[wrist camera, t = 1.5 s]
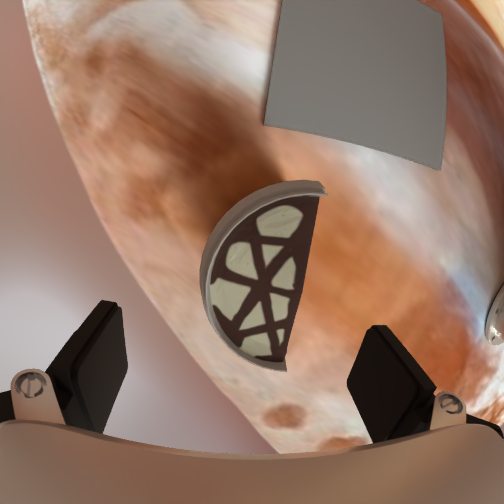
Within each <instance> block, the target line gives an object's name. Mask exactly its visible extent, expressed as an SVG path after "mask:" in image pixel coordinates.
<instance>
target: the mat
mask: <svg viewBox="0 0 504 504" xmlns="http://www.w3.org/2000/svg"><path fill="white" fill-rule="evenodd" d="M446 105H447V70H446V50H445V38H444V29H443V21H442V14H441V13H439V12H437V11H436V10H434V9H432V8H430V7H429V6H427V5H425V4H423V3H421V2H419V1H418V0H282V6H281V12H280V18H279V25H278V31H277V38H276V44H275V51H274V58H273V64H272V71H271V78H270V84H269V91H268V98H267V104H266V111H265V118H264V125H265V126H271V127H278V128H283V129H289V130H295V131H300V132H305V133H310V134H315V135H319V136H324V137H328V138H333V139H337V140H341V141H345V142H349V143H353V144H357V145H361V146H364V147H368V148H372V149H375V150H379V151H382V152H385V153H389V154H392V155H395V156H398V157H401V158H405V159H408V160H411V161H414V162H416V163H419V164H422V165H425V166H428V167H430V168H433V169H436V170H441V166H442V158H443V149H444V138H445V125H446Z"/></svg>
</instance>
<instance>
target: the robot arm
mask: <svg viewBox="0 0 504 504" xmlns="http://www.w3.org/2000/svg"><path fill="white" fill-rule="evenodd" d="M485 332H486V338H487V340H488V341H489V342H490V343H491V344H492V345H499V344H501V343H503V342H504V285H503V286H502V288H501V289H500V291H499V293H498V294H497V296H496V298H495V300H494V302H493V304H492V307H491V309H490V312H489V315H488V318H487V322H486V329H485ZM127 369H128V361H127V355H126V346H125V337H124V328H123V317H122V309H121V307H118V305H117V303H116V302H111V301H105V300H101V301H100V302H99V303H98V305H97V306H96V307H95V308H94V310H93V311H92V312H91V313H90V315H89V316H88V317H87V318H86V320H85V321H84V322H83V323H82V325H81V326H80V327H79V329H78V330H76V331H75V332H74V333H73V335H72V336H71V337H70V339H69V340H68V341H67V343H66V344H65V345H64V347H63V348H62V349H61V350H60V352H59V353H58V355H57V356H56V357H55V359H54V360H53V361H52V363H51V364H50V366H49V367H48V368H47V370H46V371H45V372H44V371H41V370H39V369H26V370H23V371H21V372H19V373H17V374H16V375H15V376H14V378H13V379H12V382H11V390H9V391H6V392H2V393H0V504H504V436H503V433H502V431H501V429H500V427H499V426H498V425H496V424H493V423H491V422H488V421H485V420H482V419H479V418H477V417H474V416H471V415H469V414H466V405H465V403H464V401H463V400H462V399H461V397H459V396H458V395H456V394H454V393H452V392H448V391H442V392H439V393H438V394H437V395H436V396H435V395H434V394H433V393H434V391H435V390H436V388H437V387H436V386H435V384H434V383H433V382H432V381H431V379H430V378H429V377H428V375H427V374H426V373H425V372H424V370H423V369H422V368H421V367H420V365H419V364H418V363H417V362H416V360H415V359H414V358H413V357H412V355H411V354H410V353H409V352H408V351H407V349H406V348H405V347H404V346H403V344H402V343H401V342H400V341H399V340H398V338H397V337H396V336H395V335H394V334H393V332H392V331H391V330H390V329H389V328H388V327H387V326H386V325H373V326H372V327H371V328H370V329H368V330H367V331H366V334H365V337H364V339H363V342H362V344H361V347H360V350H359V352H358V355H357V357H356V360H355V362H354V364H353V367H352V369H351V372H350V374H349V376H348V379H347V387H348V390H349V392H350V394H351V396H352V398H353V400H354V402H355V405H356V407H357V409H358V411H359V413H360V415H361V418H362V420H363V422H364V424H365V426H366V428H367V431H368V433H369V435H370V437H371V439H372V442H373V444H368V445H362V446H356V447H350V448H343V449H335V450H327V451H317V452H306V453H290V454H228V453H213V452H201V451H190V450H183V449H175V448H169V447H162V446H156V445H151V444H145V443H140V442H135V441H129V440H125V439H121V438H116V437H112V436H108V435H104V434H103V431H104V428H105V426H106V423H107V420H108V418H109V415H110V413H111V410H112V407H113V404H114V402H115V400H116V397H117V395H118V392H119V390H120V387H121V385H122V382H123V380H124V378H125V375H126V373H127Z"/></svg>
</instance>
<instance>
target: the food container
mask: <svg viewBox="0 0 504 504" xmlns="http://www.w3.org/2000/svg"><path fill="white" fill-rule="evenodd" d="M324 191H325V188H324V187H323V185H322V184H321V183H320V182H319V181H309V180H296V181H285V182H281V183H277V184H273V185H269V186H267V187H264V188H262V189H259V190H257V191H255V192H253V193H251V194H250V195H248V196H246V197H245V198H243V199H242V200H240V201H239V202H238V203H236V204H235V205H234V206H233V207H232V208H231V209H230V210H229V211H227V212H226V213H225V215H224V216H223V217H222V218H221V220H220V221H219V222H218V223H217V225H216V226H215V228H214V229H213V231H212V233H211V235H210V236H209V238H208V240H207V243H206V246H205V248H204V251H203V254H202V259H201V265H200V289H201V294H202V299H203V304H204V308H205V311H206V314H207V317H208V319H209V322H210V323H211V325H212V327H213V328H214V330H215V332H216V333H217V335H218V336H219V337H220V338H221V339H222V341H223V342H224V343H225V344H226V345H227V346H228V348H230V349H231V350H232V351H233V352H234V353H236V354H237V355H238V356H239V357H241V358H243V359H244V360H246V361H248V362H249V363H252V364H254V365H257V366H259V367H262V368H265V369H269V370H274V371H281V372H287V368H286V362H285V355H286V353H287V346H288V342H289V338H290V334H291V330H292V326H293V323H294V319H295V315H296V312H297V309H298V305H299V302H300V298H301V294H302V290H303V285H304V279H305V274H306V268H307V263H308V257H309V252H310V246H311V241H312V236H313V231H314V226H315V220H316V215H317V209H318V203H319V198H320V197H319V196H328V194H326V193H324Z"/></svg>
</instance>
